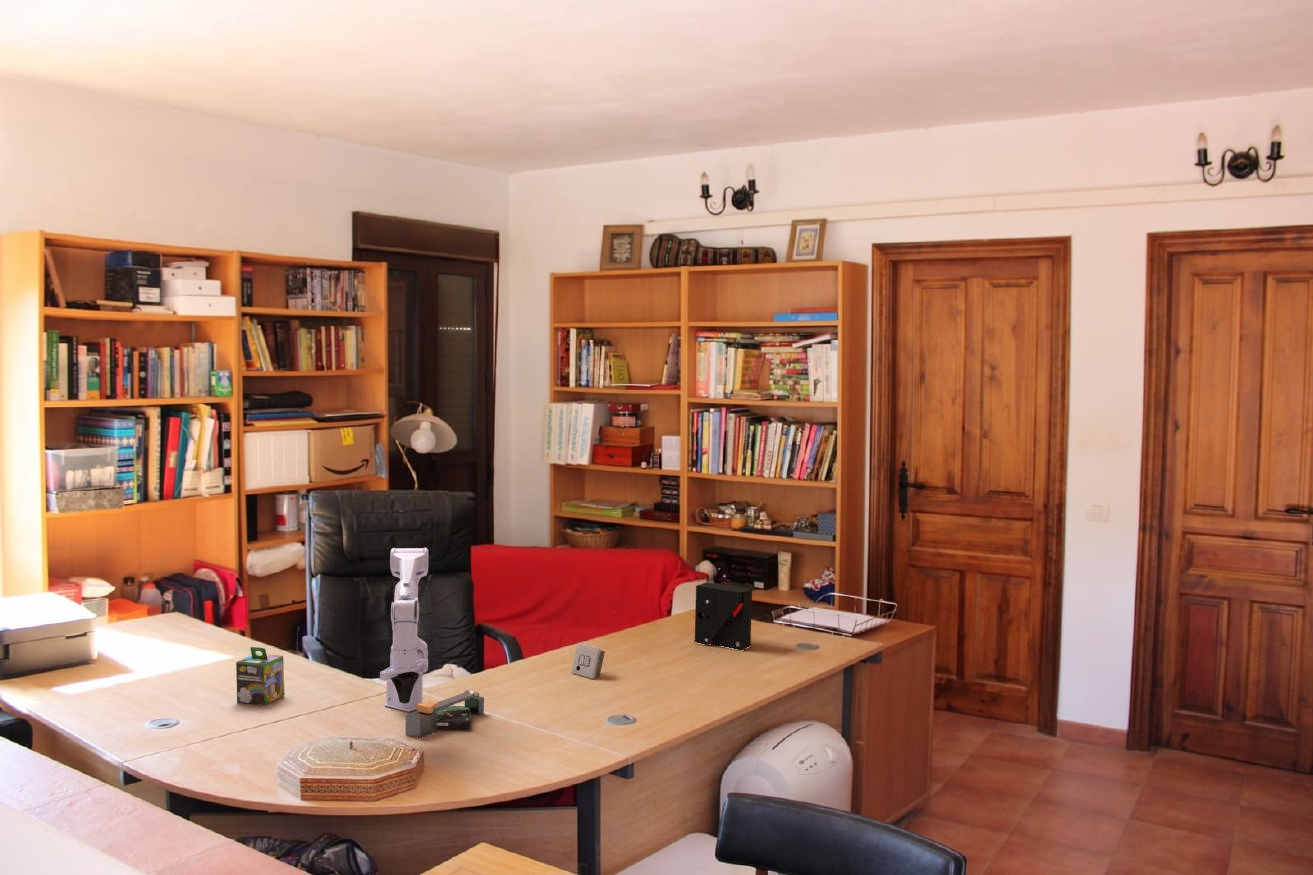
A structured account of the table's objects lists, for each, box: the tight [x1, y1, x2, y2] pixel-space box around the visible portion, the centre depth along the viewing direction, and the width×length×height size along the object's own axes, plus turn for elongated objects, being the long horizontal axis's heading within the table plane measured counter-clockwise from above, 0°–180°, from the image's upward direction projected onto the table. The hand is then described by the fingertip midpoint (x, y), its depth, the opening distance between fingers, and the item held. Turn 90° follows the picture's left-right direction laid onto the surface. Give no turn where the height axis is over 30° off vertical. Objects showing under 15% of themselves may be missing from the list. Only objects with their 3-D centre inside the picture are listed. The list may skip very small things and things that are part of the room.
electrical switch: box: [571, 642, 606, 680], centre depth 324 cm, size 9×5×9 cm, turn 49°
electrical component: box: [694, 582, 753, 651], centre depth 363 cm, size 18×10×20 cm, turn 58°
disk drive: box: [435, 705, 472, 732], centre depth 279 cm, size 10×3×15 cm
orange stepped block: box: [416, 700, 438, 714], centre depth 271 cm, size 4×4×2 cm
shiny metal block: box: [404, 695, 485, 739], centre depth 277 cm, size 5×24×5 cm, turn 149°
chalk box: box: [235, 646, 285, 707], centre depth 293 cm, size 9×9×15 cm
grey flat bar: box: [432, 689, 480, 713], centre depth 278 cm, size 4×18×1 cm, turn 149°
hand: (404, 702), depth 264 cm, fingers closed
